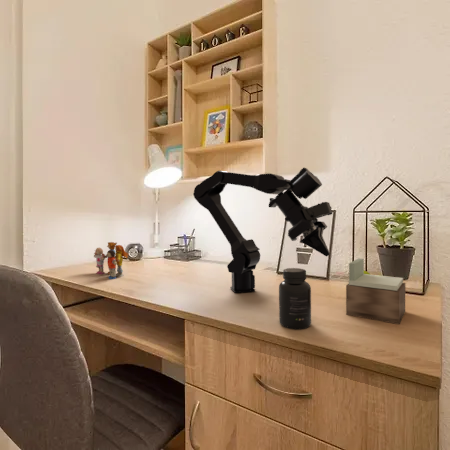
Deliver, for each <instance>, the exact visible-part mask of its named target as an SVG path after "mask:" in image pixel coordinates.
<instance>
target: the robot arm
mask: <svg viewBox="0 0 450 450" xmlns="http://www.w3.org/2000/svg"><path fill="white" fill-rule="evenodd" d="M227 185H233V186H234V185H235V186H240V187H241V186H242V187H247V188H252V189H254V190H256V191H259V192H261V193H264V194H267V195H268V194H269V195H275V197H274V198H273V197H270V198H269V203H268V208H276V207H277V208H278V209H279V210H280V212H281V213H282V214H283V216H284V220H285V221H286V222H289V224H290V225H291V226H292V227H291V228H289V229H288V232H287V236H288V238H290V240H291V241H292V242H295V241H297V240H298V237H299V236H301V235H302V237H303V238H302V239H301V240H300V243H302V244H304V245H306V246H308V247H310V248H311V249H313V250H315V251H316V252H318V253H320V254H322V255H323V256H324V257H328V256H330V255H331V253H330V250H329V247H328V246H327V243H326V241H325V239H324V236H323V233H324V230H326V229H327V228H328V225H327V224H326V223H325V221H320V220H319V218H322V217H326V216H331V215H333V214H334V213H333V210H332V206H331V204H330V202H328V201H322V202H320V203H317V204H314V205H312V206H310V207H308V206H305V205H303V204H302V203H301V201H300V200H299V199H302V198H303V199H305V200H307V199H308V198H309V197H311V195H312V194H314V193H315V192H316V191H317V190H318V189H319V188H320V187H322V186H323V184H322V182H321V180H320V179H319V178H318V176H316V175H314V173H313V172H311V171H310V170H309V169H308V168H307V167H302V168H301V169H300V170H299V172H298V173H297V174H296V175H295V176H294V177H293V178H292V179H285V178H284V176H282V175H278V174H273V173H260V174H259V173H258V174H253V175H251V174H245V173H235V172H229V171H224V170H217V171H216V172H214V173H213V174H211V175H210V176H208V177H207V178H206V179H204V180H202V181H201V182H200V183H198V184H197V185H196V186H195V187H194V190H193V194H192V195H193V198H194V199H195V200H196V202H198V204H199V205H200V206H202V207H203V208H204V209H206V210H207V211H208V212H209V214H210V215H211V217H212V218H213V219H214V221H215V223H216V225H217V226H218V228H219V229H220V231H221V232H222V234H223V235H224V237H225V238H226V240H227V242H228V243H229V246H230V251H231V253H230V254H231V256H232V260H231V261H230V262H229V263H228V264H227V266H226V267H227V270H228V273H231V286H230V290H231V291H233V292H234V293H235V294H240V293H252V292H253V293H254V292H256V289H255V288H256V283H255V282H256V278H255V277H256V276H255V274H254V270H256V268H257V265H258V264H259V262H260V261H261V252H260V248H259V247H258V246H257V244H256V242H255V241H254V239H252V238H251V239H246V238H245V237H244V236H243V235H242V233H241V232H240V230H239V229H238V227H237V226H236V224H235V222H234V221H233V220H232V217H231V216H230V214H229V213H228V212H227V210H226V208H224V206H223V204H222V198H221V193H222V192H223V191H224V189H225V188H226V186H227Z"/></svg>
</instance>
